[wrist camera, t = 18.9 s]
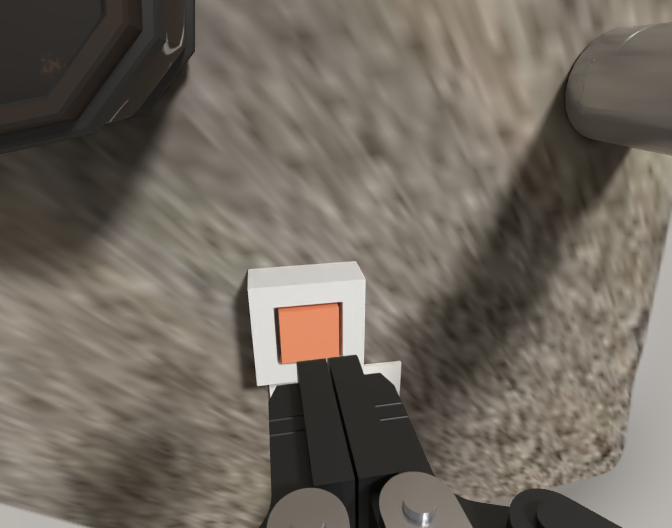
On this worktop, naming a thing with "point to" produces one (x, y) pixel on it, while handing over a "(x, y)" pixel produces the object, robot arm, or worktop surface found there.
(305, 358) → the button
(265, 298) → the button housing
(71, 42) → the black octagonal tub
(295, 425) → the robot arm
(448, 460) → the worktop surface
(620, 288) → the worktop surface
